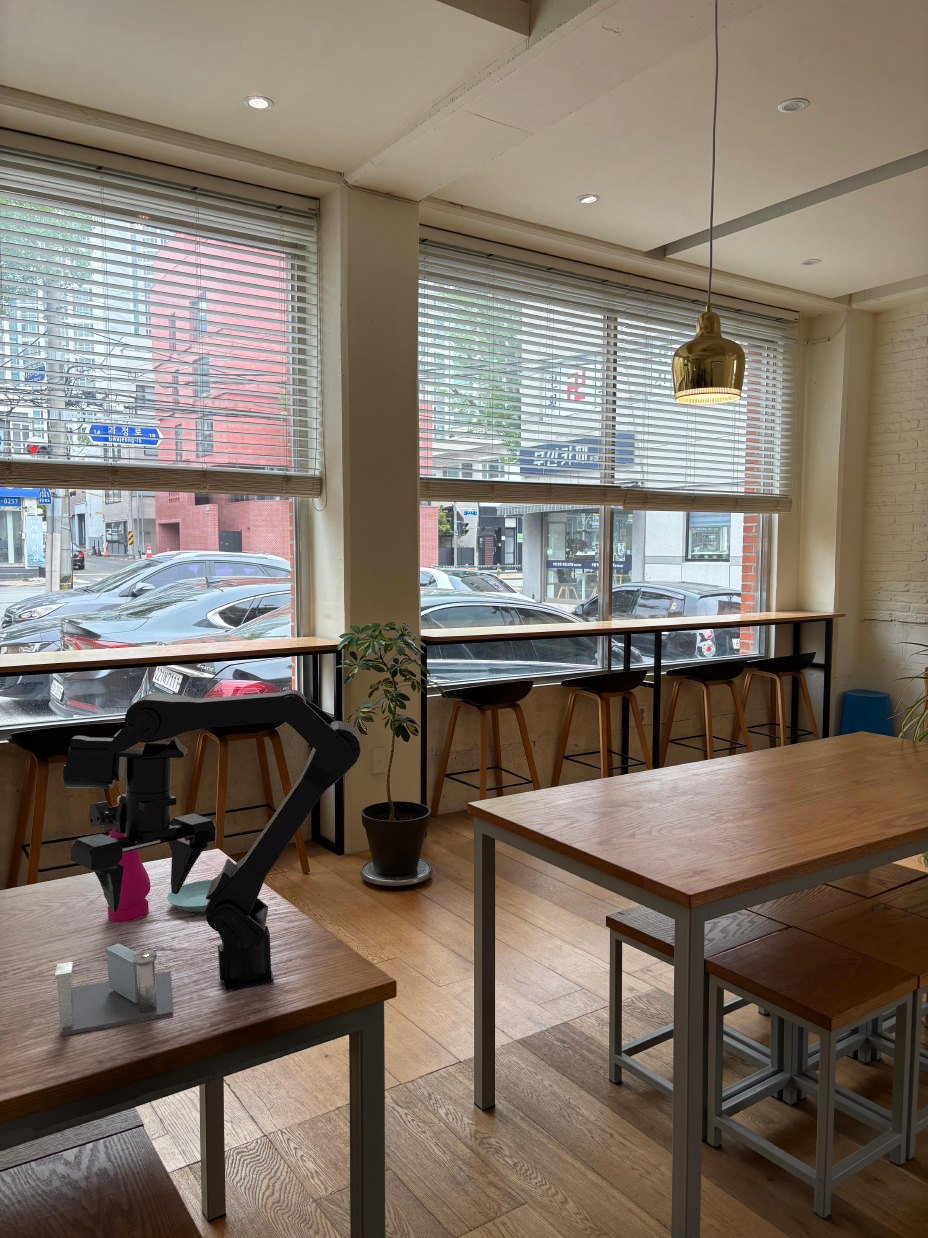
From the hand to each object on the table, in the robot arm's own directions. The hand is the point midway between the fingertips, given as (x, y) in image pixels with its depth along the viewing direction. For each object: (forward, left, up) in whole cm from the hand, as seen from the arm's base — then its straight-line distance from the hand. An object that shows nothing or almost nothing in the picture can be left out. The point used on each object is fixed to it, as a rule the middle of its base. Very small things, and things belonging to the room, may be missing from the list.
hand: (145, 902), depth 121 cm
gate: (+3, +3, -11) cm, 12 cm away
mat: (+4, +3, -12) cm, 13 cm away
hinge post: (0, +7, -12) cm, 14 cm away
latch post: (+10, +7, -12) cm, 17 cm away
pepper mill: (+3, -28, -12) cm, 30 cm away
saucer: (-9, -28, -12) cm, 32 cm away
